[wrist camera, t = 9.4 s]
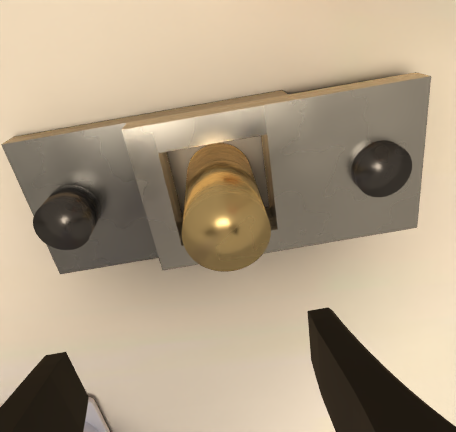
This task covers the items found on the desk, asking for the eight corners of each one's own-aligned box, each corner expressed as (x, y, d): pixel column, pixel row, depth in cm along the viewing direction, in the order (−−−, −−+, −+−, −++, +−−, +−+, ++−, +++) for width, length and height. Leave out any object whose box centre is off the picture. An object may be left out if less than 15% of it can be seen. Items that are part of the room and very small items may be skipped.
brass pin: (193, 207, 20) (191, 277, 14) (181, 149, 18) (173, 202, 13) (254, 197, 20) (274, 264, 14) (246, 138, 18) (266, 187, 13)
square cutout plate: (67, 261, 21) (47, 296, 18) (13, 136, 17) (-21, 158, 15) (394, 205, 20) (423, 233, 18) (402, 69, 17) (439, 78, 14)
